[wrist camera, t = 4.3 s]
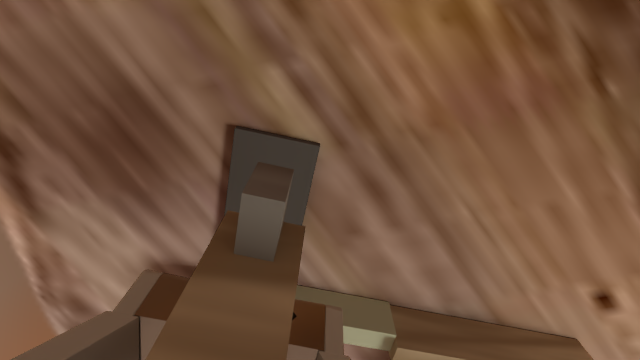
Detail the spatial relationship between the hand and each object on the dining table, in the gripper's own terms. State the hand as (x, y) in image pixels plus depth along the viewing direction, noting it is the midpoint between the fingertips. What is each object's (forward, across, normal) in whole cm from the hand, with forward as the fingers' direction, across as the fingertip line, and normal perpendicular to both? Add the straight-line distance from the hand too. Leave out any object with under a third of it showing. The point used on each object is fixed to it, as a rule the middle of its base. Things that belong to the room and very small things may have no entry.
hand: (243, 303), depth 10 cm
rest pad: (+8, 0, +1) cm, 8 cm away
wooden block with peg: (+3, 0, 0) cm, 3 cm away
